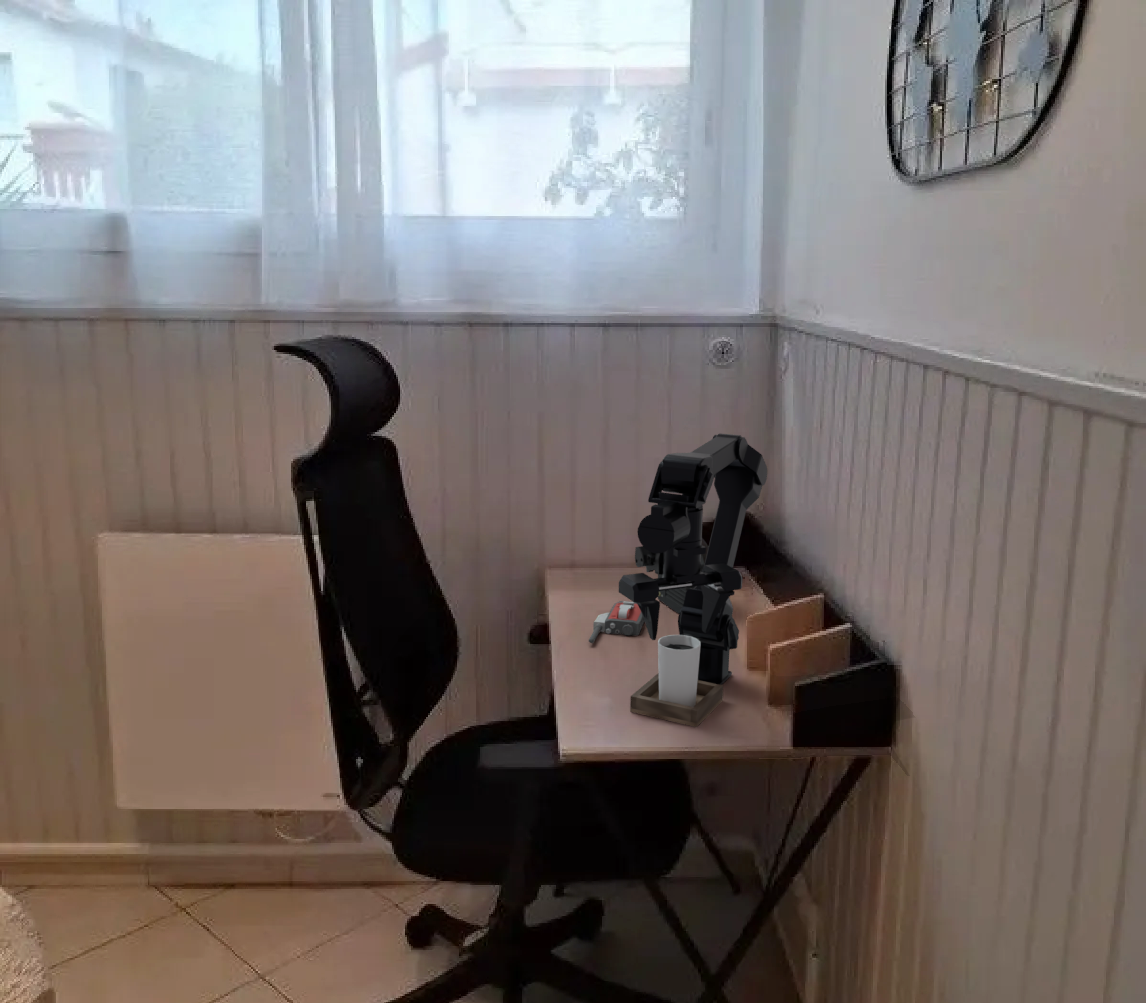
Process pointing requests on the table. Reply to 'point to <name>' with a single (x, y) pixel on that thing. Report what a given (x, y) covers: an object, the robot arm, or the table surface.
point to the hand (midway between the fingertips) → (679, 635)
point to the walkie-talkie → (619, 620)
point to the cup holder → (650, 704)
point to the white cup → (678, 669)
